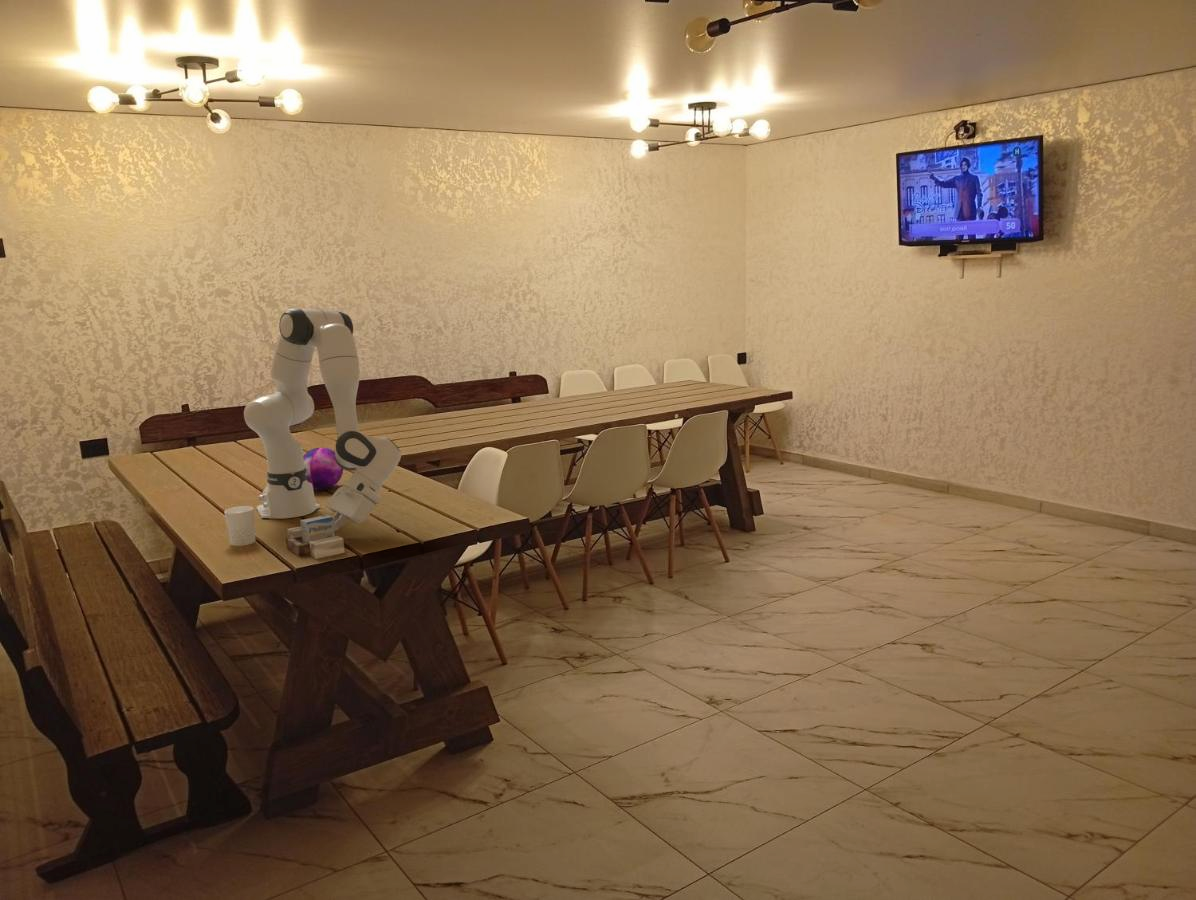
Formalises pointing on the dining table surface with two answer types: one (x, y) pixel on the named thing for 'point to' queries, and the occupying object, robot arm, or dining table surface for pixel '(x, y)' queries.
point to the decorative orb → (322, 468)
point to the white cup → (240, 525)
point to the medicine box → (317, 528)
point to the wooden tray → (313, 545)
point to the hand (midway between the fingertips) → (332, 528)
